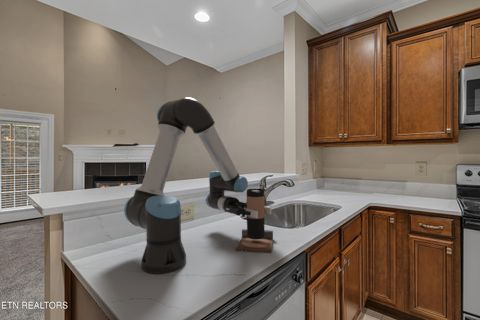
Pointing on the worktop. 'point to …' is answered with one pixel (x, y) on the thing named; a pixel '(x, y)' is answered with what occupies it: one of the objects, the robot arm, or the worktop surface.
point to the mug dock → (256, 243)
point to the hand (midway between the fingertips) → (264, 212)
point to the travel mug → (257, 203)
